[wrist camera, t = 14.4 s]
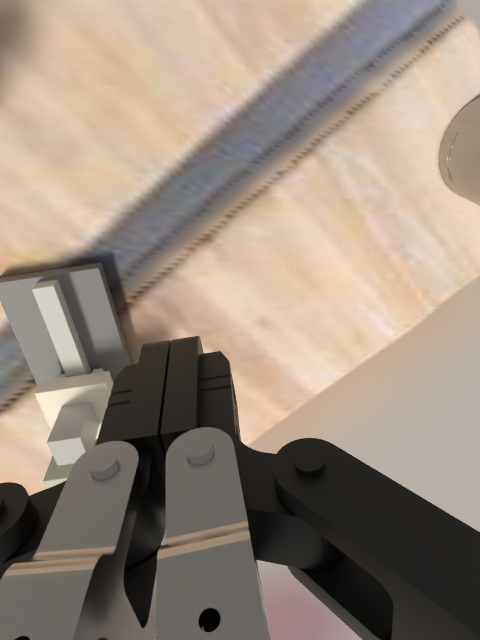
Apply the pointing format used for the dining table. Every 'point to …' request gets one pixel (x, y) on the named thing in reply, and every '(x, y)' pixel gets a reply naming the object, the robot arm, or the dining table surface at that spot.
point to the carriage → (74, 412)
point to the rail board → (84, 315)
